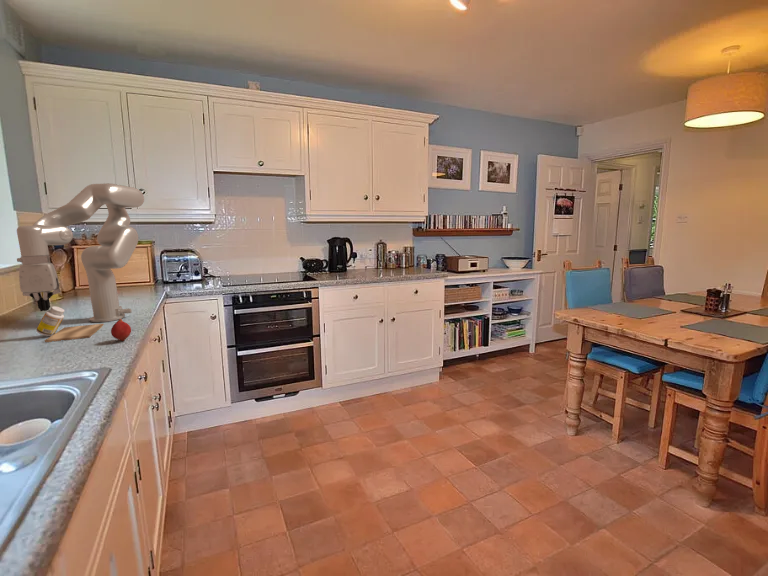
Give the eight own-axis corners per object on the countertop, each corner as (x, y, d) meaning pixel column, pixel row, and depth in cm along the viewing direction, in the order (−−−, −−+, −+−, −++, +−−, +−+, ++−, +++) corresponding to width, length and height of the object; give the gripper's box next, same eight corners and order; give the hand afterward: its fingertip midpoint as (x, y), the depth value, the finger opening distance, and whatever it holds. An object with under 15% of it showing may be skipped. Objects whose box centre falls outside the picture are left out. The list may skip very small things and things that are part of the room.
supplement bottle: (46, 328, 146) (59, 305, 147) (57, 336, 146) (71, 312, 146) (31, 329, 141) (45, 304, 141) (42, 337, 140) (57, 312, 140)
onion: (111, 344, 133) (108, 322, 131) (114, 340, 138) (110, 318, 136) (131, 341, 135) (128, 319, 134) (133, 337, 140) (130, 316, 139)
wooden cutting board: (103, 325, 158) (103, 323, 158) (89, 337, 141) (89, 335, 141) (64, 329, 153) (64, 327, 153) (45, 342, 137) (44, 340, 136)
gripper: (4, 262, 133) (13, 314, 136) (57, 260, 138) (65, 310, 141) (15, 260, 140) (24, 310, 143) (65, 258, 145) (73, 306, 148)
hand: (44, 310), depth 142 cm, fingers closed
